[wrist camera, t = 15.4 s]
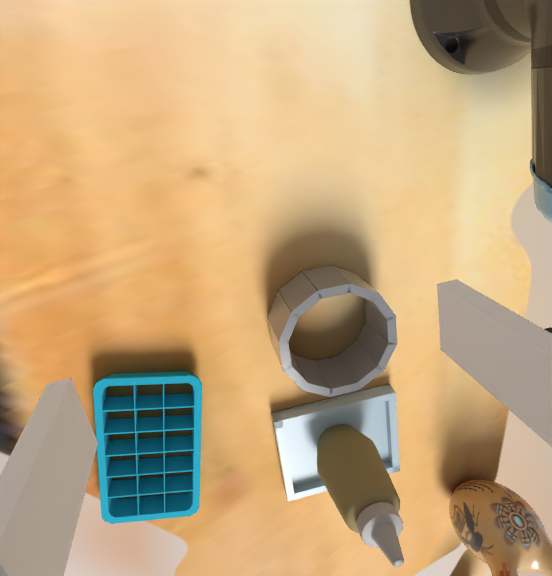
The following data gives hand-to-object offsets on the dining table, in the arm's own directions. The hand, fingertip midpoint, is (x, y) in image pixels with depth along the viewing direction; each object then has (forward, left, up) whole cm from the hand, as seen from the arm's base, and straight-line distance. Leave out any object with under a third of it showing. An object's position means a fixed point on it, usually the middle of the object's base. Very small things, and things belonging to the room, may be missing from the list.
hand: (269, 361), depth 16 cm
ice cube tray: (+12, +27, -35) cm, 46 cm away
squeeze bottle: (-11, +34, -33) cm, 49 cm away
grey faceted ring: (-11, +16, -34) cm, 39 cm away
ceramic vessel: (-31, +50, -34) cm, 68 cm away
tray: (-11, +34, -34) cm, 49 cm away
